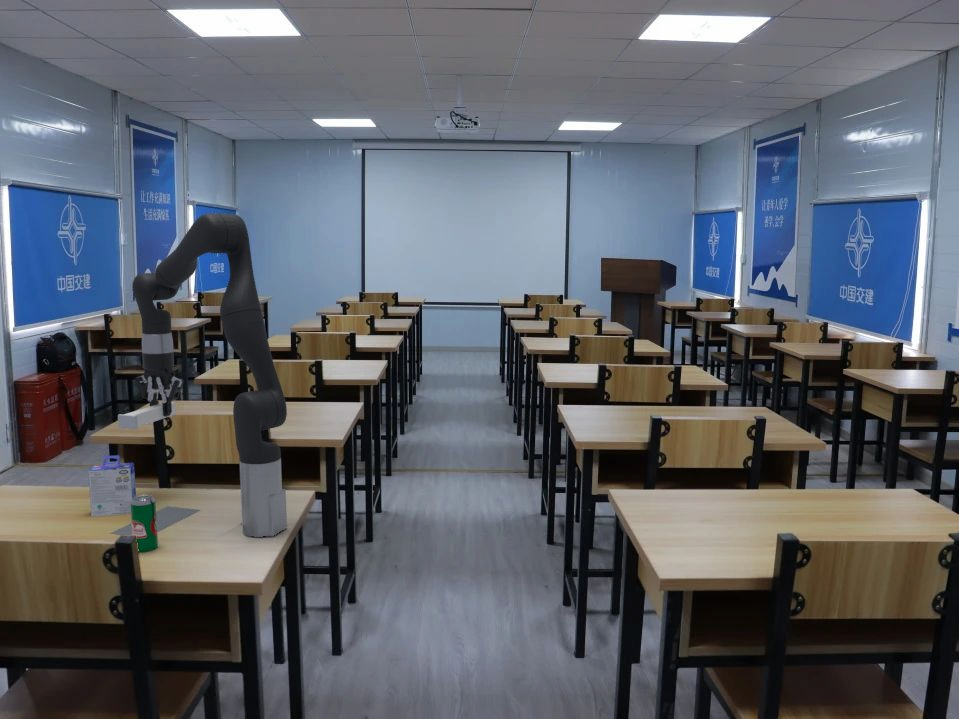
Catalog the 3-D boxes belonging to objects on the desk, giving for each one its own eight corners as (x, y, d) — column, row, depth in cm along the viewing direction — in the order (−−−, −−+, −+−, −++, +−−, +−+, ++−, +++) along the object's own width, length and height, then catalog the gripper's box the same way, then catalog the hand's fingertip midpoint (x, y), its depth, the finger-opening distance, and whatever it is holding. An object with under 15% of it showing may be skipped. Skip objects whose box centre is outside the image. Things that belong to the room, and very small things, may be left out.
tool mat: (201, 512, 199) (201, 509, 198) (146, 540, 180) (146, 537, 180) (167, 508, 201) (167, 506, 201) (109, 535, 182) (109, 533, 182)
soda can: (128, 552, 173) (124, 499, 171) (147, 544, 177) (144, 492, 175) (144, 556, 170) (140, 502, 169) (163, 548, 175) (160, 496, 173)
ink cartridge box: (137, 508, 202) (134, 453, 200) (134, 515, 196) (130, 458, 194) (95, 511, 199) (91, 455, 197) (90, 519, 194) (86, 461, 192)
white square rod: (178, 414, 211) (178, 402, 211) (135, 429, 195) (134, 416, 195) (162, 413, 213) (162, 401, 212) (118, 427, 197) (117, 414, 196)
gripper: (190, 349, 207) (192, 414, 210) (144, 346, 211) (147, 410, 214) (171, 353, 200) (174, 420, 203) (124, 350, 204) (128, 416, 206)
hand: (160, 415), depth 208 cm, fingers closed on white square rod, 3 cm apart
